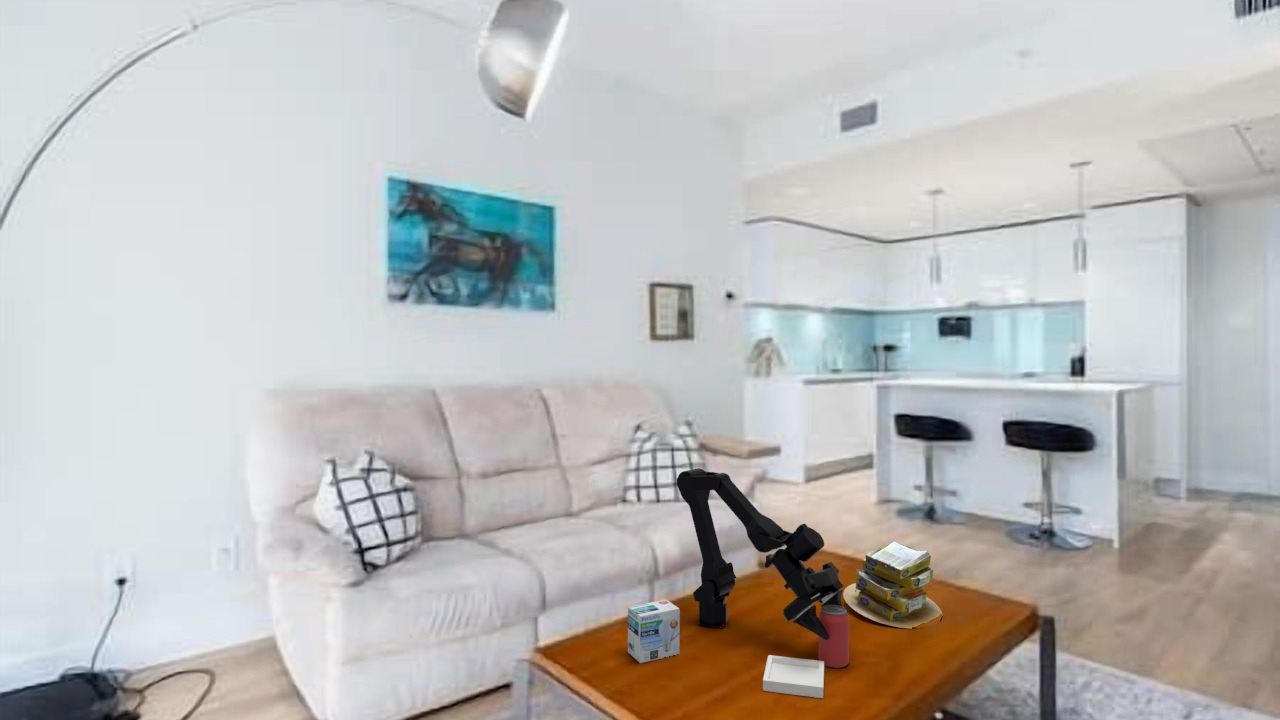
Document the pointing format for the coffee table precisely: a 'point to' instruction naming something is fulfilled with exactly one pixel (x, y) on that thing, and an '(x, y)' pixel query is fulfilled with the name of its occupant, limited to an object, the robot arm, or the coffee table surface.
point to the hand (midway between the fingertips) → (838, 632)
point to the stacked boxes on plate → (894, 587)
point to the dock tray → (794, 676)
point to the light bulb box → (653, 630)
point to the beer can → (834, 636)
